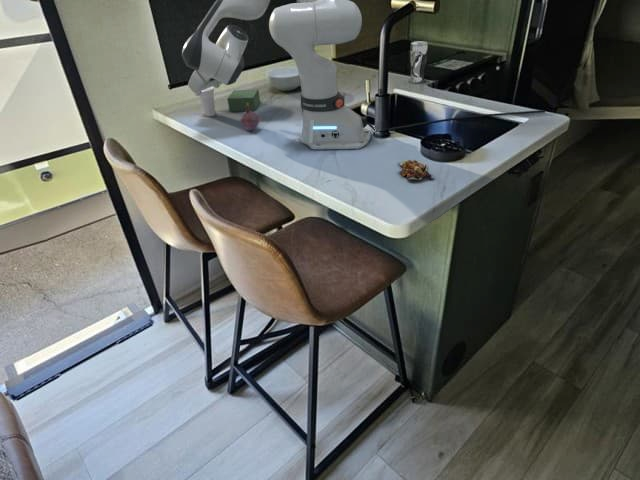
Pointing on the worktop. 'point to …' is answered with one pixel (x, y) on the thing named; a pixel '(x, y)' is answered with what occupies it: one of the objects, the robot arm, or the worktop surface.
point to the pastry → (414, 169)
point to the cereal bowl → (284, 78)
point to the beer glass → (418, 61)
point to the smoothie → (208, 101)
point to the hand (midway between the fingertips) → (206, 90)
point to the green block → (243, 100)
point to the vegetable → (249, 119)
